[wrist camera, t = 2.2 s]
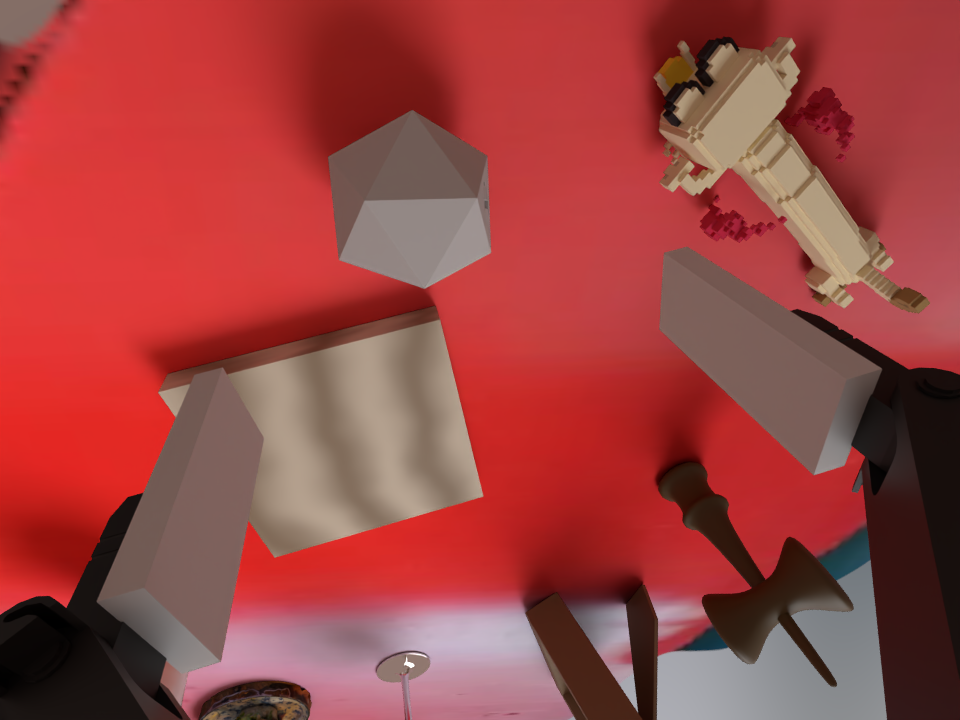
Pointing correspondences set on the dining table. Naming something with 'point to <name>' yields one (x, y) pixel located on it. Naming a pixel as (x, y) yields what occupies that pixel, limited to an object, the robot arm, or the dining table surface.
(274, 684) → the burger
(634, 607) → the photo frame
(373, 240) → the die
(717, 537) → the kendama
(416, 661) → the wineglass
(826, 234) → the cat figure
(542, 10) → the dining table surface
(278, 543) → the birch board
